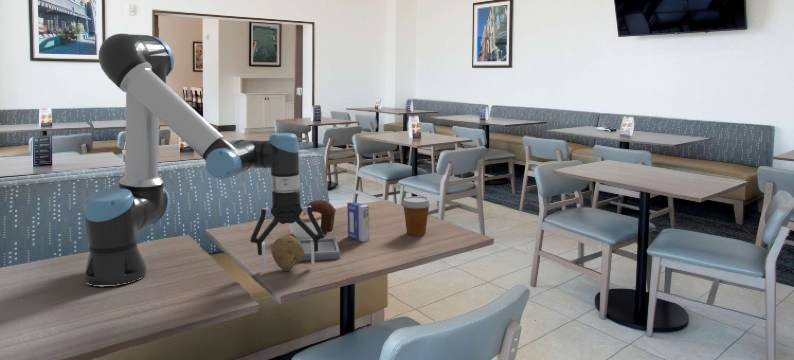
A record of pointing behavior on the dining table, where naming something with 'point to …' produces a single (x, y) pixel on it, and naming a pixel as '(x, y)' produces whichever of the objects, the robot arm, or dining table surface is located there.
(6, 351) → the dining table surface
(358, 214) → the walkman
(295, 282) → the dining table surface
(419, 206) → the disposable coffee cup
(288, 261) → the natural sponge
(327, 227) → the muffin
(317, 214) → the lidded jar
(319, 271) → the dining table surface
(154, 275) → the dining table surface
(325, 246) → the slate square tray
